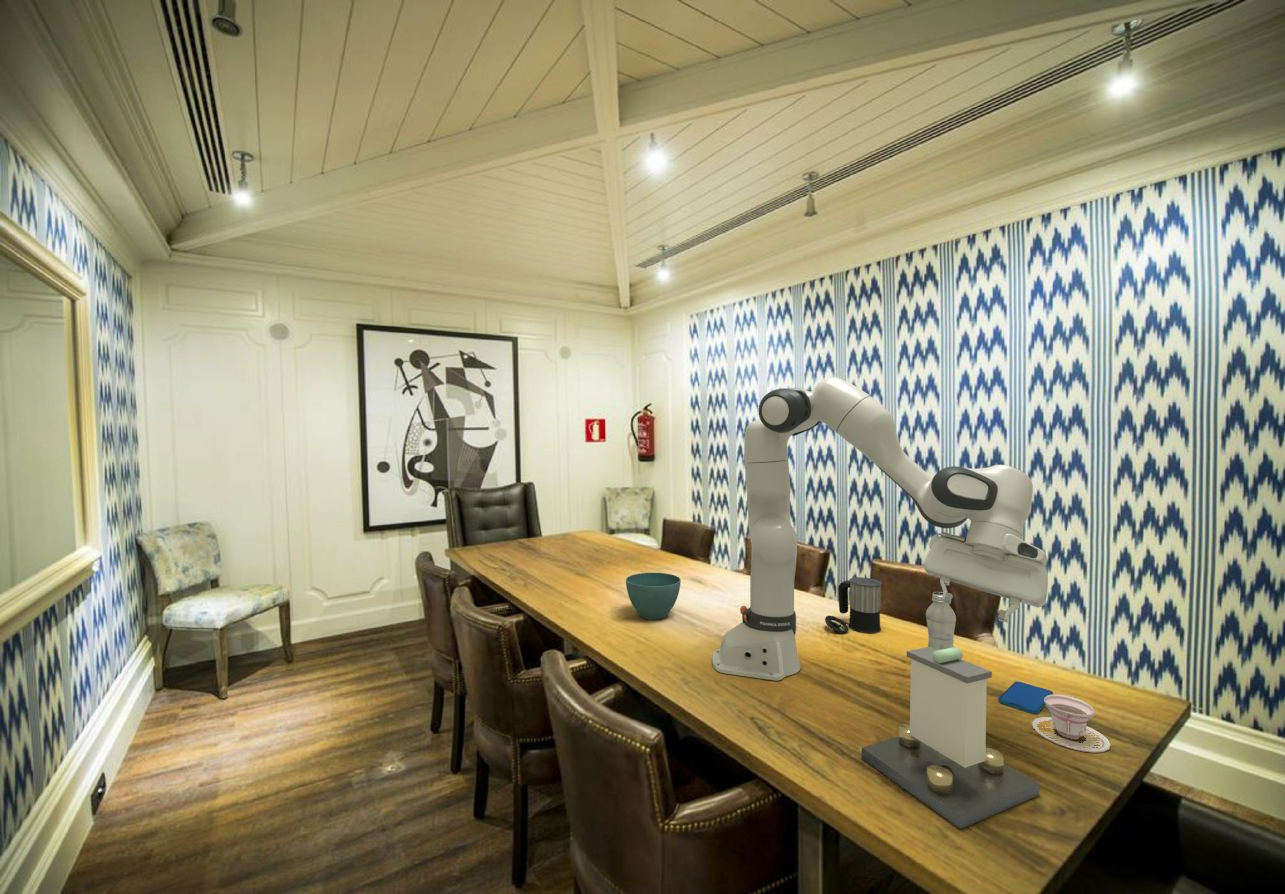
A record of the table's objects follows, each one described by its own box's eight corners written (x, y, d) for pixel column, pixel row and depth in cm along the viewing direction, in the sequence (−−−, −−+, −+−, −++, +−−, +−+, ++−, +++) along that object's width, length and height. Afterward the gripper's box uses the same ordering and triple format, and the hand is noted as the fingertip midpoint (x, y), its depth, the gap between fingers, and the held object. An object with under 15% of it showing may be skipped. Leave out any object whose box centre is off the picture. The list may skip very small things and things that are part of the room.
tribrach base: (960, 829, 78) (960, 800, 78) (861, 758, 96) (861, 734, 96) (1039, 795, 86) (1039, 768, 86) (934, 735, 103) (934, 713, 103)
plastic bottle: (961, 681, 126) (961, 598, 126) (930, 678, 128) (930, 597, 127) (950, 669, 133) (951, 591, 132) (921, 667, 134) (922, 589, 134)
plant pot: (623, 607, 182) (623, 572, 182) (675, 606, 184) (675, 571, 184) (628, 626, 164) (628, 587, 164) (685, 624, 166) (685, 585, 166)
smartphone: (1054, 691, 120) (1037, 712, 111) (1054, 695, 120) (1037, 716, 111) (1015, 680, 126) (996, 699, 116) (1015, 684, 126) (996, 703, 116)
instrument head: (965, 787, 84) (967, 665, 84) (905, 748, 95) (906, 640, 95) (990, 778, 87) (992, 659, 87) (928, 741, 97) (930, 635, 97)
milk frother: (885, 628, 162) (885, 580, 162) (868, 642, 151) (868, 591, 150) (840, 617, 172) (840, 572, 172) (820, 631, 160) (820, 582, 160)
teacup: (1033, 713, 112) (1033, 684, 112) (1108, 733, 104) (1109, 702, 104) (1030, 738, 102) (1030, 707, 102) (1112, 762, 95) (1112, 728, 95)
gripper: (931, 524, 108) (912, 588, 105) (1056, 555, 94) (1038, 629, 91) (935, 534, 112) (916, 595, 109) (1055, 565, 99) (1037, 635, 96)
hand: (973, 611), depth 100 cm, fingers open, 8 cm apart
